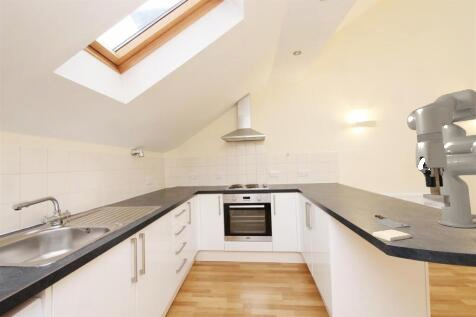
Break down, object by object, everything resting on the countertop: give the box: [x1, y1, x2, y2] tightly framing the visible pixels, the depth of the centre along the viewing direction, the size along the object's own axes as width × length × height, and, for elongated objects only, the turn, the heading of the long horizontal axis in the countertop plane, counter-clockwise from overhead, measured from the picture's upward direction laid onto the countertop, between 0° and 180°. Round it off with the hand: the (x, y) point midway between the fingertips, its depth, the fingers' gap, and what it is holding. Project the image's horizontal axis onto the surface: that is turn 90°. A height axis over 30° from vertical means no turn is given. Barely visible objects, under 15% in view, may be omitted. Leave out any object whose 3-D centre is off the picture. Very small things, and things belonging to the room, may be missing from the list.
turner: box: [422, 168, 450, 207], centre depth 84 cm, size 3×7×16 cm, turn 15°
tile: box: [372, 228, 412, 242], centre depth 89 cm, size 2×8×10 cm
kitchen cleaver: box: [374, 214, 409, 229], centre depth 112 cm, size 24×1×10 cm
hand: (434, 186), depth 84 cm, fingers closed on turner, 2 cm apart
